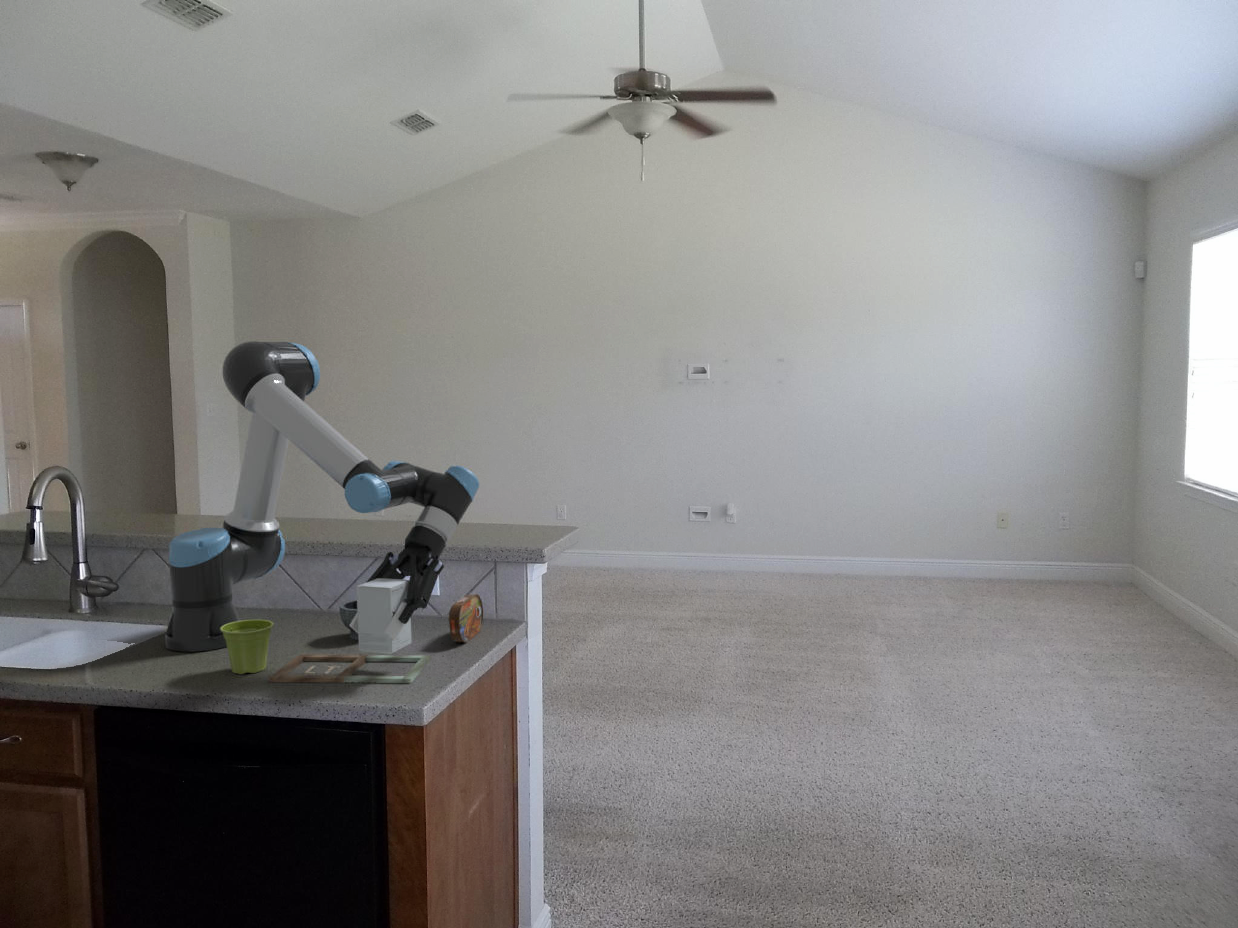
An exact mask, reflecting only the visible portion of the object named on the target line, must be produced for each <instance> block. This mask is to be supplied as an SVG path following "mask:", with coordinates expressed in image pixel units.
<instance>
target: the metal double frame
mask: <svg viewBox="0 0 1238 928" xmlns="http://www.w3.org/2000/svg"><path fill="white" fill-rule="evenodd" d="M431 657H432V656H431V655H419V654H418V655H414V654H413V655H411V654H410V655H406V654H405V655H404V654H402V655H401V654H398V655H397V654H395V655H393V654H384V655H383V654H379V655H378V654H373V655H372V654H298V655H297V656H295V657H293V659H292V660H290V661H289V662H288V663H286V664H285V665H283V666H282V667H281V668H280V669H278V670H277V671H275V673H273V674H272V675H270V676H269V677H268V682H269V683H345V682H347V683H348V682H349V683H351V682H354V683H355V684H356V683H357V684H360V683H361V682H362V683H363V682H364V683H363V684H367V682H370V683H371V684H381V683H382V684H411V683H412V682H413V681H414V680H415V679H416V678H417V676H418V675H419V674H420V673H421V672H422V670H424V668H425V667H426V666H427V665H428V663H429V662H430V661H431V660H432V658H431ZM303 662H352V663H351V664H349V665H348V666H347V667H346V668H344V670H343V671H342V672H341V673H339V674H337V675H331V674H330V675H329V673H330V672H331V671H332V670H334V669H336V668H337V669H338V668H340V667H341V666H340V665H339V666H338V665H331V666H330V665H327V667H326V668H328V669H327V670H326V671H324V673H323V674H324V675H319V674H316V671H315V672H314V671H313V672H312V670H313V669H314V668H316V665H311V666H310V667H309V668H308V669H307V670H305V671H304V672H303V674H290V672H292V671H294V669H296V668H297V667H298V666H299V665H301V664H302V663H303ZM366 662H387V663H388V662H389V663H390V662H392V663H394V662H396V663H398V662H401V663H403V662H404V663H406V662H407V663H408V662H409V663H412V662H414V663H415V662H416V663H415V664H414V665H413V666H412V667H411V669H410V670H409V671H408V672H407V673H406V674H405V675H353V674H354V673H356V671H358V670H359V669H358V668H361V667H362V666H363V665H364V664H365V663H366ZM426 664H427V665H426ZM425 665H426V666H425ZM420 671H421V672H420ZM305 674H307V675H305ZM313 674H314V675H313ZM359 682H360V683H359ZM375 682H376V683H375ZM362 683H361V684H362ZM370 683H369V684H370Z"/></svg>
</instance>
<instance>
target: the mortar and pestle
mask: <svg viewBox="0 0 1238 928" xmlns="http://www.w3.org/2000/svg"><path fill="white" fill-rule="evenodd" d="M356 614H357V599H355V600H350V601H346V602H343V603H341V605H340V606H339V616H340V620H341V621H342V624H343V625H344V626H345V627H346V628H347V629H348V630H349V638H351V639H352V640H358V641H359V639H358V633H357V632H356V631H355V630H353V629H352V628H351V627H350V626H349V625H350V623H351V622H352V620H353V619H354V617H355V615H356Z"/></svg>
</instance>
